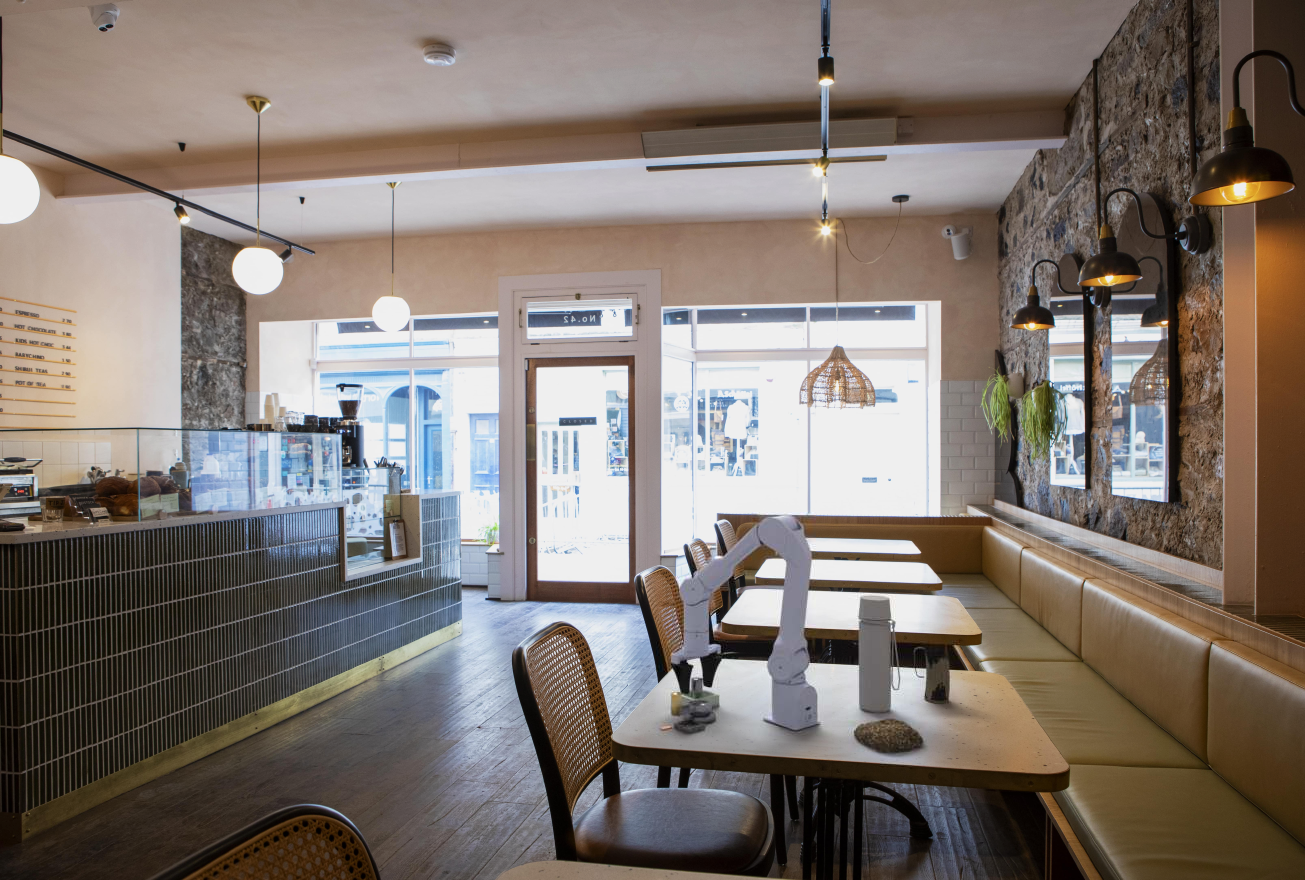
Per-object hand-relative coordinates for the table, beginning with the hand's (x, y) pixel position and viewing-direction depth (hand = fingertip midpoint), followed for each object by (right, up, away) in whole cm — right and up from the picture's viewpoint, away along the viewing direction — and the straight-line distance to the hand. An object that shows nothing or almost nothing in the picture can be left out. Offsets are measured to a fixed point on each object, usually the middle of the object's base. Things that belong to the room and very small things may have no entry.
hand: (696, 689), depth 193 cm
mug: (+55, -4, +4) cm, 56 cm away
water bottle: (+41, -4, -3) cm, 41 cm away
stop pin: (0, -3, 0) cm, 3 cm away
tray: (0, -3, 0) cm, 3 cm away
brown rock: (+38, -4, -24) cm, 45 cm away
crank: (-2, -2, -12) cm, 12 cm away
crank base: (-2, -3, -13) cm, 14 cm away
